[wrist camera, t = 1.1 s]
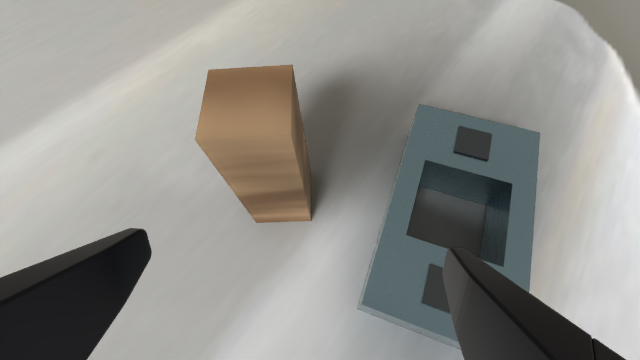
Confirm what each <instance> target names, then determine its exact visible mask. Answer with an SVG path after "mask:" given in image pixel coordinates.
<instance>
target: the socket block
mask: <svg viewBox="0 0 640 360" xmlns="http://www.w3.org/2000/svg"><path fill="white" fill-rule="evenodd" d="M539 139H540V133H539V132H535V131H530V130H526V129H522V128H518V127H514V126H509V125H505V124H501V123H497V122H493V121H489V120H484V119H480V118H476V117H472V116H468V115H463V114H459V113H455V112H451V111H447V110H443V109H438V108H434V107H430V106H426V105H422V104H419V106H418V109H417V112H416V115H415V118H414V120H413V123H412V126H411V129H410V132H409V135H408V138H407V141H406V145H405V148H404V152H403V155H402V158H401V162H400V165H399V169H398V172H397V175H396V179H395V182H394V186H393V189H392V192H391V196H390V199H389V203H388V206H387V209H386V213H385V216H384V220H383V223H382V226H381V230H380V233H379V237H378V240H377V243H376V247H375V250H374V254H373V257H372V260H371V264H370V267H369V271H368V274H367V277H366V281H365V284H364V288H363V291H362V294H361V298H360V301H359V305H358V308H357V309H359V310H362V311H364V312H367V313H369V314H372V315H374V316H377V317H379V318H382V319H384V320H387V321H390V322H392V323H395V324H397V325H400V326H402V327H405V328H407V329H410V330H412V331H415V332H418V333H420V334H423V335H425V336H428V337H430V338H433V339H435V340H438V341H441V342H443V343H446V344H448V345H451V346H453V347H456V348H458V349H461V348H460V345H459V342H458V339H457V336H456V333H455V330H454V326H453V321H452V317H451V313H450V308H449V304H448V299H447V295H446V290H445V286H444V281H443V267H444V262H445V258H446V253H447V250H448V249H447V248H444V247H441V246H438V245H435V244H432V243H429V242H426V241H422V240H419V239H416V238H413V237H410V236H407V235H406V233H407V229H408V225H409V221H410V217H411V213H412V210H413V206H414V202H415V198H416V194H417V190H418V186H423V187H426V188H429V189H433V190H436V191H440V192H443V193H447V194H450V195H453V196H457V197H460V198H464V199H467V200H470V201H474V202H477V203H481V204H484V205H487V208H486V216H485V223H484V230H483V237H482V244H481V251H480V259H481V260H483V261H484V262H485V263H487V264H488V265H490V266H491V267H493V268H494V269H496V270H497V271H498V272H500V273H501V274H503V275H504V276H506V277H507V278H509V279H510V280H511V281H513V282H514V283H516V284H517V285H519V286H520V287H521V288H523V289H524V290H526V291H527V292H529V286H530V271H531V256H532V242H533V227H534V212H535V198H536V183H537V168H538V154H539Z"/></svg>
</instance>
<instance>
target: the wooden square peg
mask: <svg viewBox="0 0 640 360" xmlns="http://www.w3.org/2000/svg"><path fill="white" fill-rule="evenodd" d="M195 141H196V142H197V143H198V145H199V146H200V147H201V149H202V150H203V151H204V153H205V154H206V155H207V157H208V158H209V159H210V161H211V162H212V163H213V165H214V166H215V167H216V169H217V170H218V171H219V173H220V174H221V176H222V177H223V178H224V180H225V181H226V182H227V184H228V185H229V186H230V188H231V189H232V190H233V192H234V193H235V194H236V196H237V197H238V198H239V200H240V201H241V202H242V204H243V205H244V206H245V208H246V209H247V211H248V212H249V213H250V215H251V216H252V217H253V219H254V220H255V221H256V223H263V222H287V221H311V172H310V166H309V160H308V154H307V148H306V142H305V136H304V130H303V125H302V119H301V113H300V107H299V101H298V95H297V89H296V83H295V77H294V71H293V65H280V66H263V67H247V68H230V69H214V70H208V75H207V81H206V86H205V91H204V96H203V101H202V106H201V112H200V117H199V122H198V127H197V132H196V137H195Z"/></svg>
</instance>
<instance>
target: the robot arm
mask: <svg viewBox="0 0 640 360" xmlns="http://www.w3.org/2000/svg"><path fill="white" fill-rule="evenodd" d="M150 258H151V247H150V244H149V240H148V236H147V233H146V231H145V230H144V229H137V228H129V229H126V230H124V231H121V232H118V233H116V234H113V235H111V236H108V237H105V238H103V239H100V240H98V241H95V242H92V243H90V244H87V245H84V246H82V247H79V248H77V249H74V250H71V251H69V252H66V253H64V254H61V255H58V256H56V257H53V258H51V259H48V260H45V261H43V262H40V263H37V264H35V265H32V266H30V267H27V268H24V269H22V270H19V271H17V272H14V273H11V274H9V275H6V276H4V277H1V278H0V360H87V359H88V357H89V356H90V354H91V353H92V351H93V350H94V348H95V347H96V346H97V344H98V343H99V341H100V340H101V338H102V337H103V335H104V334H105V332H106V331H107V329H108V328H109V327H110V325H111V324H112V322H113V321H114V319H115V318H116V316H117V315H118V313H119V312H120V311H121V309H122V307H123V306H124V304H125V303H126V301H127V299H128V298H129V296H130V294H131V292H132V291H133V289H134V287H135V285H136V283H137V282H138V280H139V278H140V276H141V275H142V273H143V271H144V269H145V267H146V266H147V264H148V262H149V260H150ZM443 281H444V286H445V290H446V295H447V299H448V304H449V308H450V313H451V317H452V321H453V326H454V330H455V333H456V336H457V339H458V342H459V345H460V348H461V351H462V354H463V356H464V359H465V360H626V359H624V358H623V357H621V356H620V355H618V354H617V353H615V352H614V351H612V350H611V349H609V348H608V347H607V346H605V345H604V344H602V343H601V342H599V341H598V340H597V339H595V338H593V339H592V337H591V335H589V334H588V333H586V332H585V331H583V330H582V329H581V328H579V327H578V326H576V325H575V324H573V323H572V322H570V321H569V320H568V319H566V318H565V317H563V316H562V315H560V314H559V313H558V312H556V311H555V310H553V309H552V308H550V307H549V306H547V305H546V304H545V303H543V302H542V301H540V300H539V299H537V298H536V297H534V296H533V295H532V294H530V293H529V292H527V291H526V290H524V289H523V288H521V287H520V286H519V285H517V284H516V283H514V282H513V281H511V280H510V279H509V278H507V277H506V276H504V275H503V274H501V273H500V272H498V271H497V270H496V269H494V268H493V267H491V266H490V265H488V264H487V263H485V262H484V261H483V260H481V259H480V258H478V257H477V256H475V255H474V254H472V253H471V252H470V251H468V250H467V249H465V248H461V247H450V248H448V250H447V253H446V258H445V262H444V267H443Z"/></svg>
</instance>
